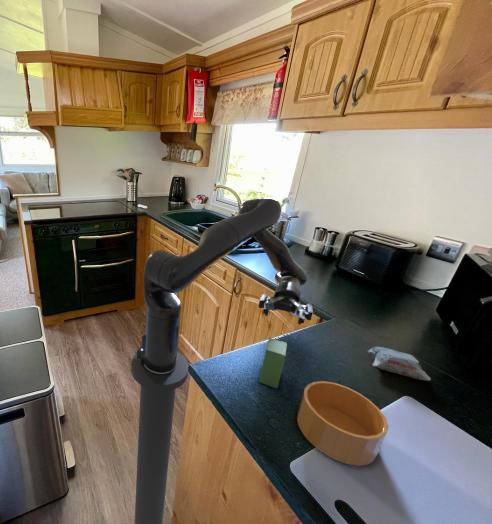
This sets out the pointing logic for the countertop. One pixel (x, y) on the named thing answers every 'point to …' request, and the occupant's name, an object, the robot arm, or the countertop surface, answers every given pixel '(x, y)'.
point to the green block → (273, 362)
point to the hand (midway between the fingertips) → (283, 317)
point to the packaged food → (397, 363)
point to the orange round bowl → (341, 423)
